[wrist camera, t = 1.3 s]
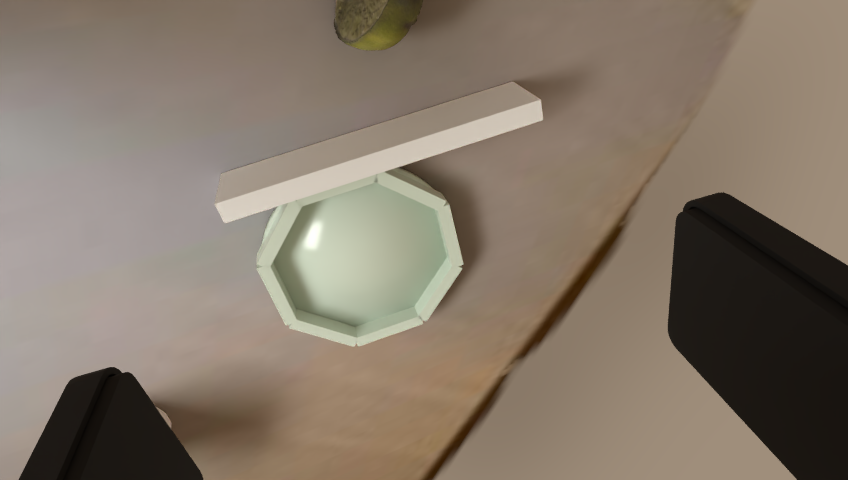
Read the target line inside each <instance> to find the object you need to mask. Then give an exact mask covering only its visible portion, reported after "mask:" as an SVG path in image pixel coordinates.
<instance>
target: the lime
mask: <svg viewBox="0 0 848 480" xmlns="http://www.w3.org/2000/svg"><path fill="white" fill-rule="evenodd" d="M422 2H423V0H336V6H335V7H336V10H335V15H336V17H335V19H334V27H335V30H336V34H337V36H338V38H339V39H340V40H342V41H343V42H344V43H346V44H348V45H350V46H353V47H355V48H358V49H362V50H384V49H387V48H390V47H391V46H394V45H395V44H397V43H398V42H399V41H400V40H401V39H402V38H403V37H404V36H405V35H406V34H407V33H408V31H409V29H410V27H411V25H413V24H414V23H415V22H416V21H417V15H418V14H419V13H420V9H421V6H422Z"/></svg>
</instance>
